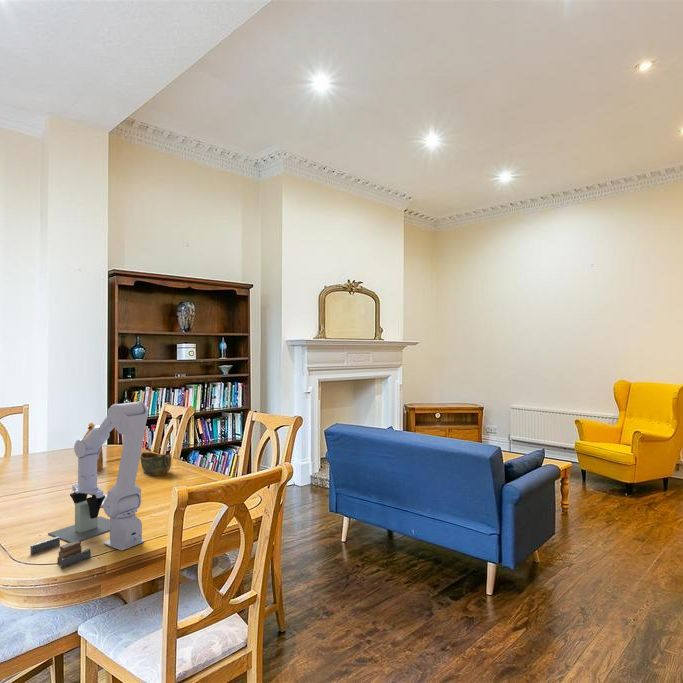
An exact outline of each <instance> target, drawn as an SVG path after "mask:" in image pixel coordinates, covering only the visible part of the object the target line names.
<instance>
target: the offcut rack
mask: <svg viewBox="0 0 683 683" xmlns="http://www.w3.org/2000/svg"><path fill="white" fill-rule="evenodd" d="M60 544H61V539H60V537H52V538H49V539H46V540H43V541H40V542H37V543H34V544H31V545H30V555H32V556H33V555H35V554H39V553H41V552H45V551H47V550H49V549H53V548H57V547H59V546H61V545H60ZM91 551H92V550H91V548H87V549H84V550H82V551H81V552H78V553H75V554H73V555H70V556H67V557H65V558H62V559H61V565H60V569H62V570H63V569H66V568H69V567H71V566H74V565H76V564H78V563H81V562H85V561H87V560H89V559H91Z"/></svg>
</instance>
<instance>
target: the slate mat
mask: <svg viewBox="0 0 683 683" xmlns="http://www.w3.org/2000/svg"><path fill="white" fill-rule="evenodd" d="M108 532H110V518H106V517H103V516H98V527H96V528H94V529H91V530H88V531H85V532H82V533H79V532H76V531H75V524H73V525H70V526H69V525H68V526H66V527H63V528H59V529H57V530H53V531H51V532H47V533H48V534H47V535H49V536H52V538H55V537H60V541H64V542H66V543H67V544H68V543H71V542H74V541H79V542H82V541H85V540H88V539H91V538H94V537H97V536H99V535H102V534H105V533H108Z"/></svg>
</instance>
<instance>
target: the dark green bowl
mask: <svg viewBox="0 0 683 683" xmlns="http://www.w3.org/2000/svg"><path fill="white" fill-rule="evenodd" d="M140 464H141V468H142V470H143V473H144V474H146V475H148V476H151V477H162V476H166V475H168V473H169V471H170V469H171V468H172V467H171V466H172V455H171V453H170V452H169V453H166V454H161V453H155V452H147V451H146V452H141V454H140Z"/></svg>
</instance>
